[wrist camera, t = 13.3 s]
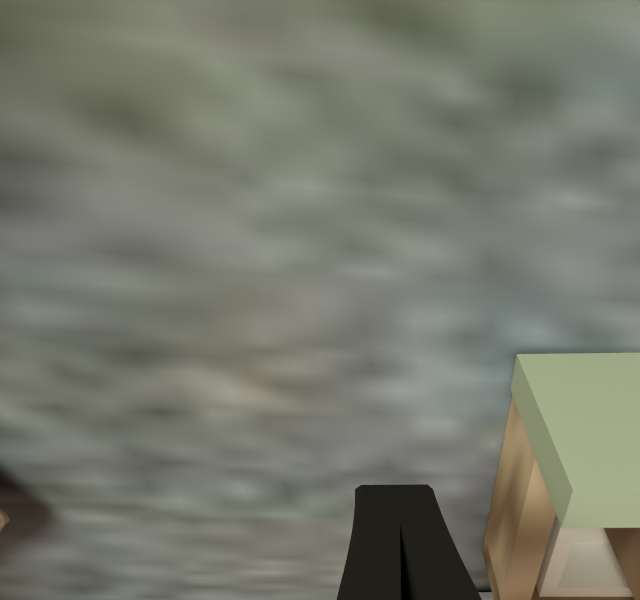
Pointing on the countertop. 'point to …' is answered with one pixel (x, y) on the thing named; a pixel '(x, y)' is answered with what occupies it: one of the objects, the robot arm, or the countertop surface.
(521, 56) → the countertop surface
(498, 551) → the organiser frame
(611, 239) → the countertop surface
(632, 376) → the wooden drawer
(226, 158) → the countertop surface
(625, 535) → the walnut block
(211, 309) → the countertop surface
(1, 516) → the brown boot
